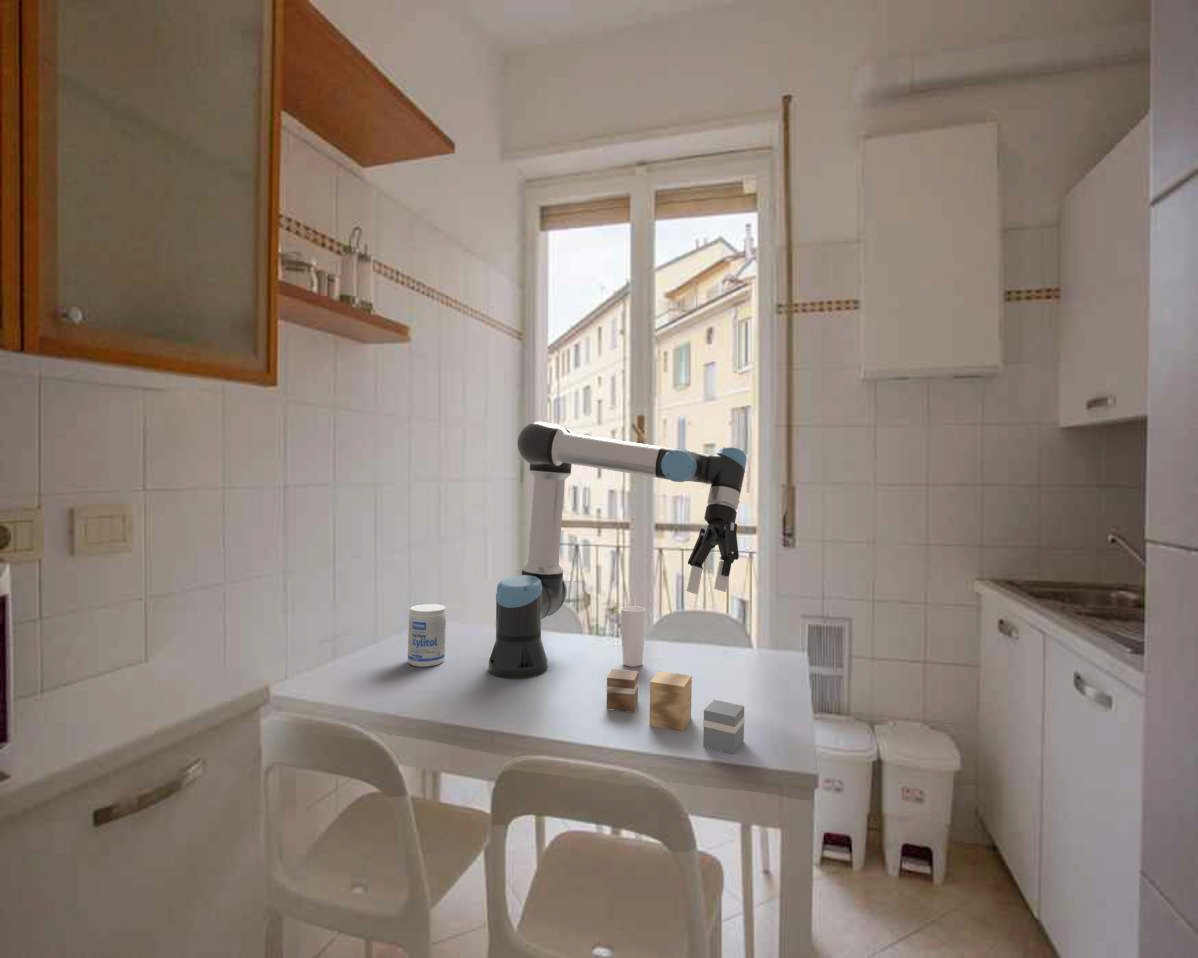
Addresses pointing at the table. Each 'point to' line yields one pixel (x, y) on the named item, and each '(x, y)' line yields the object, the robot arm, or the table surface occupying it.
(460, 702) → the table surface
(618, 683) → the walnut block
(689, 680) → the oak block
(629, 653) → the drinking glass
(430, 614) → the supplement tub
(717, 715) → the grey block
